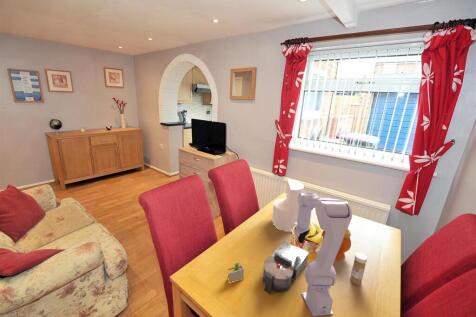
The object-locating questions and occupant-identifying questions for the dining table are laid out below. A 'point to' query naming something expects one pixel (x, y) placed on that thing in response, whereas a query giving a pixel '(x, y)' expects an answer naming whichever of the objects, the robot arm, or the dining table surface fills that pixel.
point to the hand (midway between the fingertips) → (300, 242)
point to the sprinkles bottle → (358, 268)
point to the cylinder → (287, 207)
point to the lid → (279, 266)
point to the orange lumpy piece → (343, 245)
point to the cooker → (298, 262)
